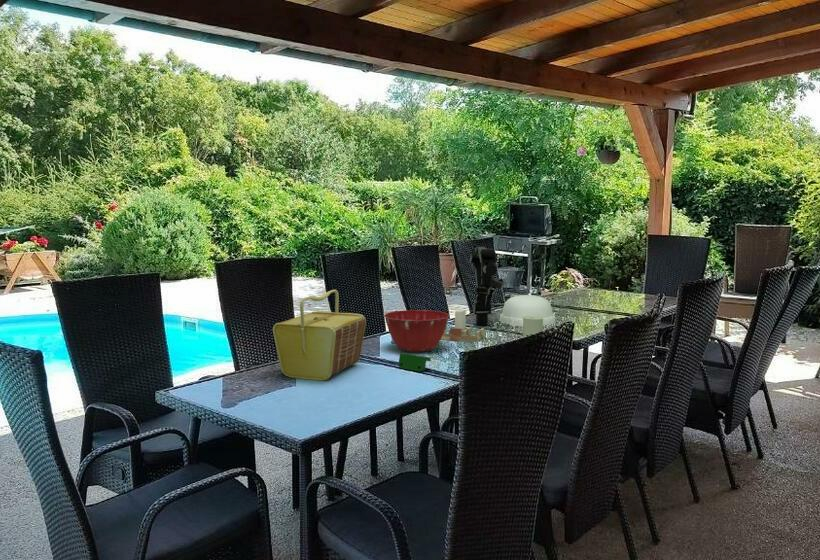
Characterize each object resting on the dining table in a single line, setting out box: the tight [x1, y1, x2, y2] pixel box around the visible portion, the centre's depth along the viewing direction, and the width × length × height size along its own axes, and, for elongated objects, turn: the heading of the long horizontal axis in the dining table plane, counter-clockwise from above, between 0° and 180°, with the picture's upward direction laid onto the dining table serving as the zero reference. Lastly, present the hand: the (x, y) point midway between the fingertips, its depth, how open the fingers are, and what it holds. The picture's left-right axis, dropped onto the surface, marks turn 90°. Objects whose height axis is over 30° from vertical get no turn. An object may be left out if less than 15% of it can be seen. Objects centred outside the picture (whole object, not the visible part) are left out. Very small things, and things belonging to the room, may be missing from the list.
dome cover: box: [499, 294, 556, 327], centre depth 339 cm, size 32×30×14 cm
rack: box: [440, 326, 485, 343], centre depth 296 cm, size 13×20×6 cm, turn 67°
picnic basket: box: [272, 289, 367, 381], centre depth 238 cm, size 29×26×30 cm
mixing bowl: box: [383, 309, 450, 353], centre depth 275 cm, size 28×28×15 cm
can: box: [522, 316, 544, 337], centre depth 287 cm, size 9×9×12 cm
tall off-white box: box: [454, 309, 467, 331], centre depth 296 cm, size 5×4×13 cm
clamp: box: [398, 352, 432, 372], centre depth 242 cm, size 12×6×9 cm, turn 48°
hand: (486, 304), depth 314 cm, fingers open, 9 cm apart
